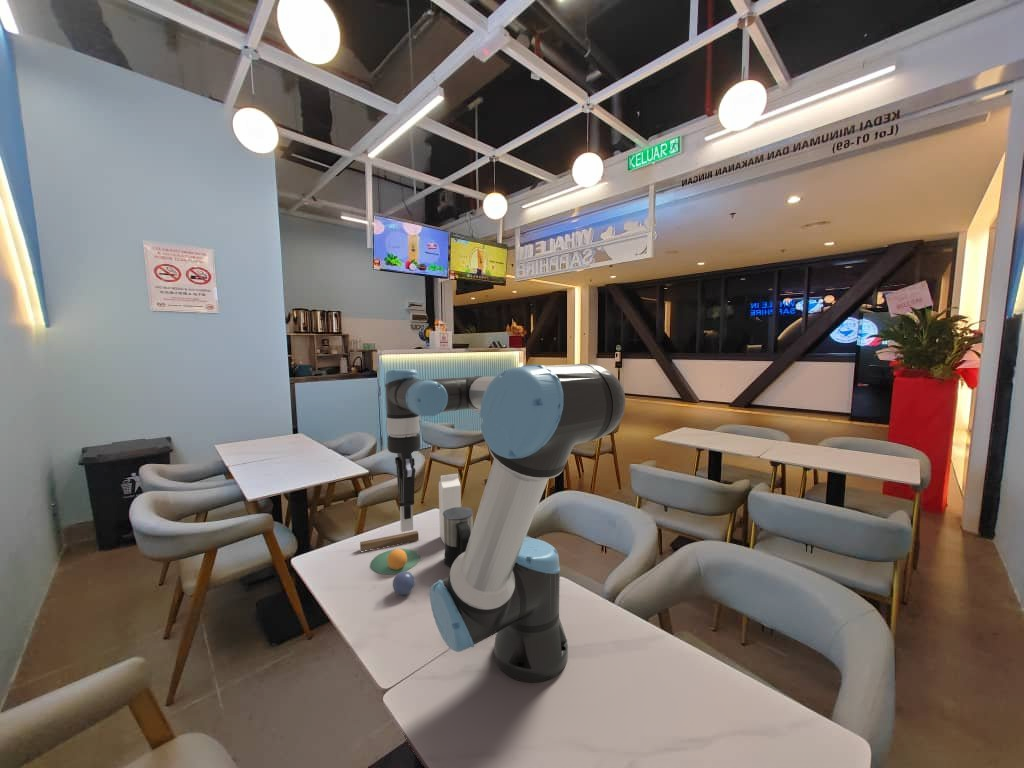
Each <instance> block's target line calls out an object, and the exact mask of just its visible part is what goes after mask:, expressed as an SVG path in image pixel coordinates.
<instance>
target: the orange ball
mask: <svg viewBox="0 0 1024 768" xmlns="http://www.w3.org/2000/svg"><path fill="white" fill-rule="evenodd" d="M401 549H402V548H397V549H396V548H395V550H394V549H392V550H393V551H392V552H391V553H390V554H389V555H388V558H387V563H388V565H389V567H390V568H391V569H394V570H398V569H401V568H402V567H404V565H405V564H406V562H407V555H406V553H405V552H404V551H403V550H401Z"/></svg>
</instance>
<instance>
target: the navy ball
mask: <svg viewBox="0 0 1024 768" xmlns="http://www.w3.org/2000/svg"><path fill="white" fill-rule="evenodd" d="M414 587H415V577H414V575H413V574H412V573H411V572H409V571H408V570H406V571H402V572H400V573H396V575H395V576H394V578H393V580H392V590H393V591H394V593H396V594H397V595H398V596H399V595H400V596H404V595H407V594H409V593H410V592H412V591H413V588H414Z"/></svg>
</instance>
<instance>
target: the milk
mask: <svg viewBox="0 0 1024 768" xmlns="http://www.w3.org/2000/svg"><path fill="white" fill-rule="evenodd" d="M459 479H460V478H459V474H458V473H451V474H444V475H443V474H442V475H440V480H439V481H438V509H439V512H438V513H439V514H438V515H439V538H440V539H441V541H442V543H443V544H444V545H445V540H444V516H443V512H444V511H445V510H447V509H450V508H455V507H462V491H461V490H462V486H461V483H460V480H459Z"/></svg>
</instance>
